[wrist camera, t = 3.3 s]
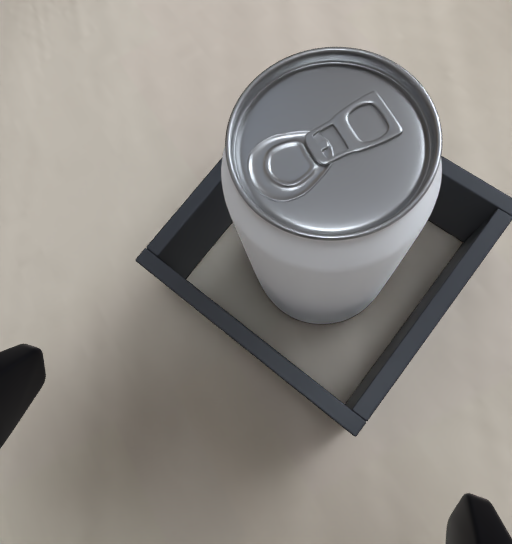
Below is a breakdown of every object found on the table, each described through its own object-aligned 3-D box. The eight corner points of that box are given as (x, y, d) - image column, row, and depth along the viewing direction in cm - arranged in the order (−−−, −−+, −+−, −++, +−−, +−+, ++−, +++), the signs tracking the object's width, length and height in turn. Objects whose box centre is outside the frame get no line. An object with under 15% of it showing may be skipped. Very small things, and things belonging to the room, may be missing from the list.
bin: (346, 429, 22) (355, 437, 17) (165, 283, 24) (134, 260, 20) (483, 239, 23) (523, 204, 19) (298, 123, 26) (296, 68, 22)
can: (235, 238, 25) (170, 100, 13) (344, 181, 25) (375, -5, 13) (294, 349, 23) (278, 303, 11) (411, 287, 23) (514, 178, 11)
